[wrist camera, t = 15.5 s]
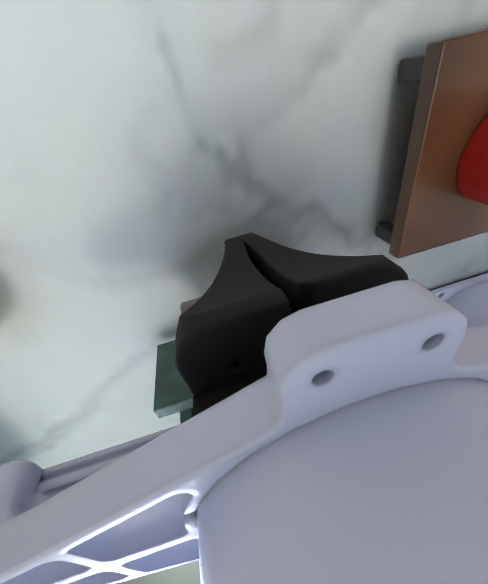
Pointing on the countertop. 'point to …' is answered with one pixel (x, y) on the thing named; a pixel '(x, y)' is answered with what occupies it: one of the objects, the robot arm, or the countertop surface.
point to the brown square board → (440, 146)
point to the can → (475, 166)
